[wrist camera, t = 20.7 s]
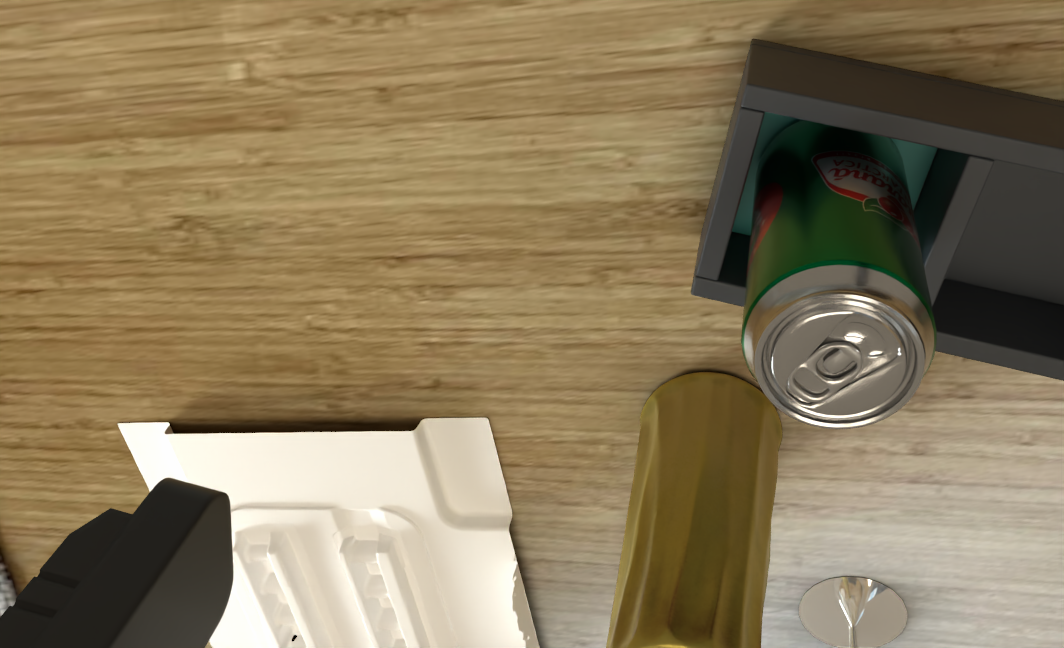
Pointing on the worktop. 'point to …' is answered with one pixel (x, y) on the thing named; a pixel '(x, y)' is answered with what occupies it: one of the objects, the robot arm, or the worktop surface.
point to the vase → (698, 517)
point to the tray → (357, 534)
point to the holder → (920, 193)
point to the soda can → (835, 279)
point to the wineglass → (853, 613)
